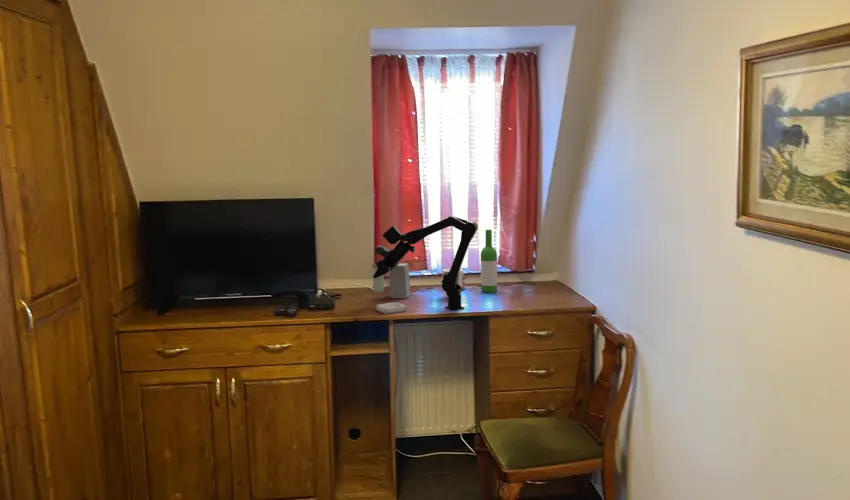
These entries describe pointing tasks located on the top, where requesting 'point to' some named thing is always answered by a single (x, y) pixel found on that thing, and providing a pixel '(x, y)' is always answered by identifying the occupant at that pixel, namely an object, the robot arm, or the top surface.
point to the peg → (377, 281)
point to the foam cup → (458, 277)
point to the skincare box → (399, 281)
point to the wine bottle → (488, 266)
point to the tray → (391, 308)
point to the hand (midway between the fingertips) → (375, 276)
